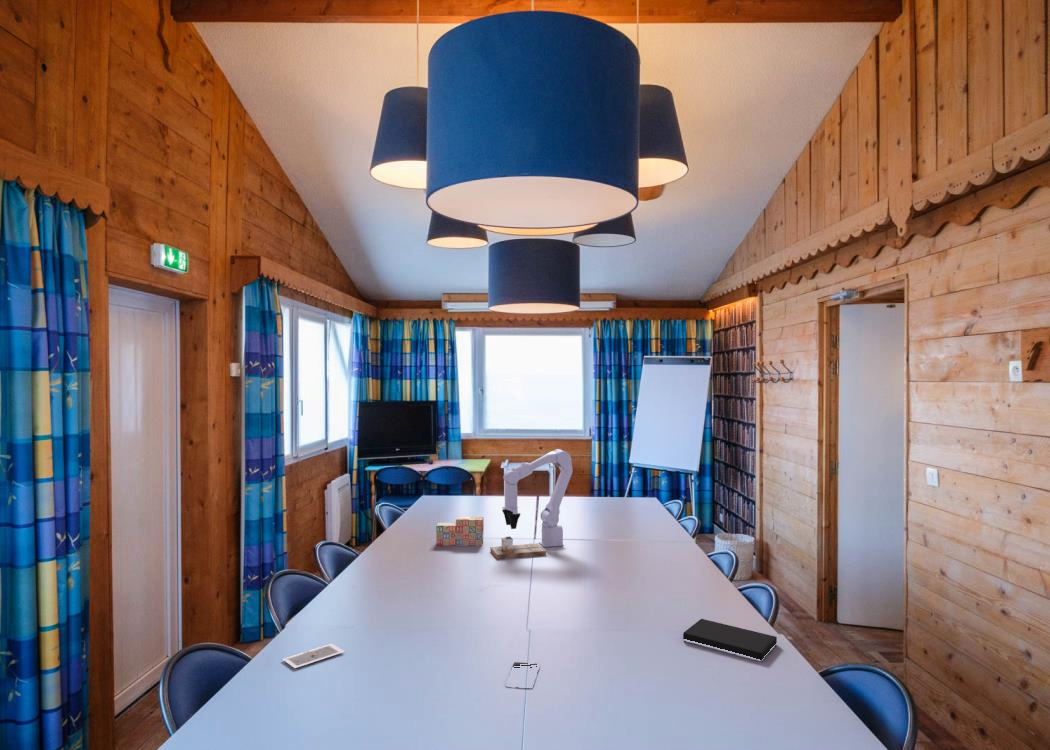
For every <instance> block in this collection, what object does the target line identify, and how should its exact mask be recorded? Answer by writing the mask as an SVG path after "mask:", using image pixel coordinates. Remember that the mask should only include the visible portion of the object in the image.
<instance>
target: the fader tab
mask: <svg viewBox="0 0 1050 750" xmlns="http://www.w3.org/2000/svg"><path fill="white" fill-rule="evenodd" d="M513 541H514V538H512V537H511V536H501V546H502V550H503V551H509V550H513V545H514V543H513Z"/></svg>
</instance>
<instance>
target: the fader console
mask: <svg viewBox="0 0 1050 750" xmlns="http://www.w3.org/2000/svg"><path fill="white" fill-rule="evenodd" d="M489 548H490V549H489V550H490V551H491V552H490V551H489V552H490V553H491V554H492V555H493V557H494V558H495V557H496V558H497V559H496V558H495V559H496V560H506V559H505V558H508V559H515V558H514V557H520V558H527V557H526V556H533V557H542V556H544V555H545V556H547V551H546V549H545V548H544V547H543V546H542V545H541V544H540V543H527V544H513V550H509V551H503V550H502V545H500V546H490V547H489Z"/></svg>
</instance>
